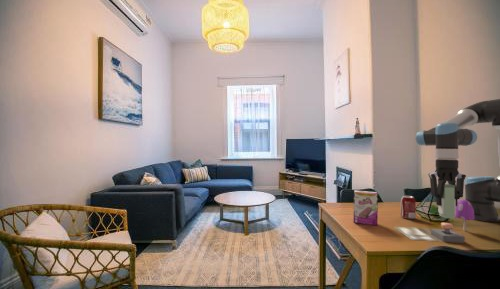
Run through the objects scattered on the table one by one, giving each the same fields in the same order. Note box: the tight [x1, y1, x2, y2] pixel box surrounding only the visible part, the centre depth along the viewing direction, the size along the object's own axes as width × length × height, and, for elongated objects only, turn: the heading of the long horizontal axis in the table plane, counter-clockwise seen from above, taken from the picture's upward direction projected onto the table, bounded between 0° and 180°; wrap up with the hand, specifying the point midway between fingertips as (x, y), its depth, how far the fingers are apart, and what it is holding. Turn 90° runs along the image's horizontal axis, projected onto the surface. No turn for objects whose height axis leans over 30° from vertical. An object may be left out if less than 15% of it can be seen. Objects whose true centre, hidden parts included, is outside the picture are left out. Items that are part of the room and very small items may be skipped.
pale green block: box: [438, 183, 456, 219], centre depth 99 cm, size 4×4×14 cm
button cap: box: [440, 222, 454, 234], centre depth 99 cm, size 4×4×4 cm
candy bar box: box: [353, 189, 379, 227], centre depth 120 cm, size 11×5×16 cm, turn 65°
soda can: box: [400, 195, 417, 220], centre depth 129 cm, size 7×7×12 cm
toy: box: [455, 199, 475, 232], centre depth 108 cm, size 7×7×15 cm
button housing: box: [430, 228, 466, 244], centre depth 99 cm, size 8×8×2 cm
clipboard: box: [392, 226, 459, 244], centre depth 104 cm, size 20×16×1 cm
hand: (446, 213), depth 99 cm, fingers closed on pale green block, 4 cm apart
